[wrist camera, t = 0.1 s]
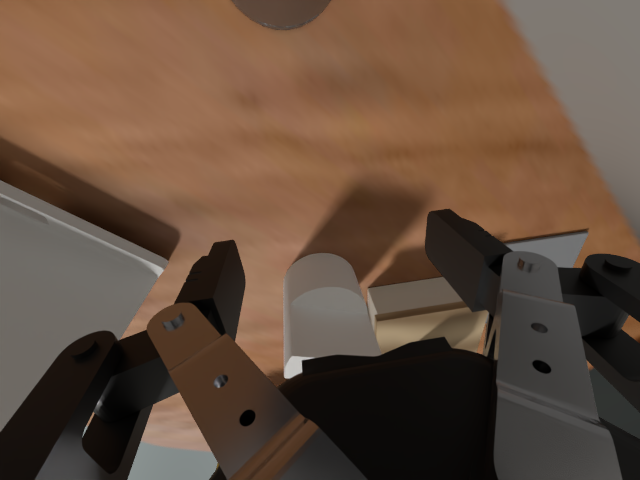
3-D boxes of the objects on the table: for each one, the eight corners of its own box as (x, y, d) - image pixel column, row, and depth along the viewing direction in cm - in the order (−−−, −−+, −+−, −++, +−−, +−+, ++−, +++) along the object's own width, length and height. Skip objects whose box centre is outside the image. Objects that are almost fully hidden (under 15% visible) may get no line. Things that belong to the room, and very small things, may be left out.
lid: (374, 314, 32) (392, 361, 27) (485, 297, 33) (523, 340, 28) (374, 382, 39) (387, 429, 34) (465, 366, 39) (493, 411, 34)
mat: (478, 246, 35) (480, 248, 35) (585, 231, 36) (588, 232, 35) (459, 324, 42) (461, 327, 42) (549, 310, 43) (551, 312, 43)
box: (367, 288, 37) (378, 317, 32) (457, 274, 37) (480, 301, 33) (368, 348, 43) (377, 379, 39) (445, 335, 43) (462, 365, 39)
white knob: (365, 259, 34) (401, 340, 24) (342, 313, 38) (365, 401, 28) (292, 246, 32) (297, 330, 22) (276, 305, 36) (274, 397, 26)
